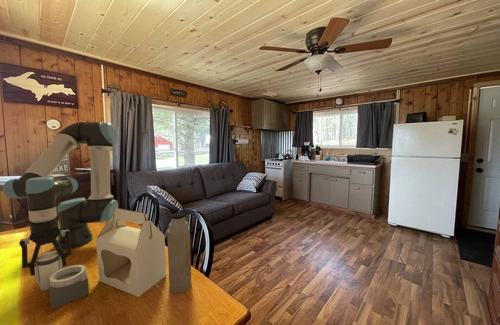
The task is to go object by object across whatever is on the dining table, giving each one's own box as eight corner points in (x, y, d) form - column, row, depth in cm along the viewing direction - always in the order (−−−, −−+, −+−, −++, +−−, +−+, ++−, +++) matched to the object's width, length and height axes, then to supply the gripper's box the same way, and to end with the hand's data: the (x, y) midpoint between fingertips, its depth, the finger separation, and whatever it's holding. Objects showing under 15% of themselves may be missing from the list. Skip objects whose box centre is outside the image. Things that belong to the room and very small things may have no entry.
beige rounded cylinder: (40, 284, 82) (36, 255, 80) (61, 277, 86) (58, 249, 85) (39, 293, 77) (36, 261, 76) (61, 285, 81) (58, 255, 80)
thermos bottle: (195, 280, 84) (193, 211, 82) (185, 294, 77) (182, 219, 74) (176, 277, 86) (174, 210, 83) (165, 291, 78) (161, 217, 75)
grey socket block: (51, 293, 77) (48, 272, 76) (85, 280, 84) (84, 261, 83) (51, 309, 70) (48, 286, 69) (89, 294, 77) (87, 273, 76)
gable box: (167, 275, 87) (164, 209, 84) (139, 297, 75) (134, 220, 72) (129, 263, 96) (125, 202, 93) (98, 281, 84) (93, 212, 81)
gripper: (3, 229, 70) (11, 295, 72) (77, 215, 83) (82, 272, 85) (6, 223, 75) (14, 284, 78) (76, 210, 88) (80, 264, 90)
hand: (50, 278), depth 81 cm, fingers closed on beige rounded cylinder, 6 cm apart
